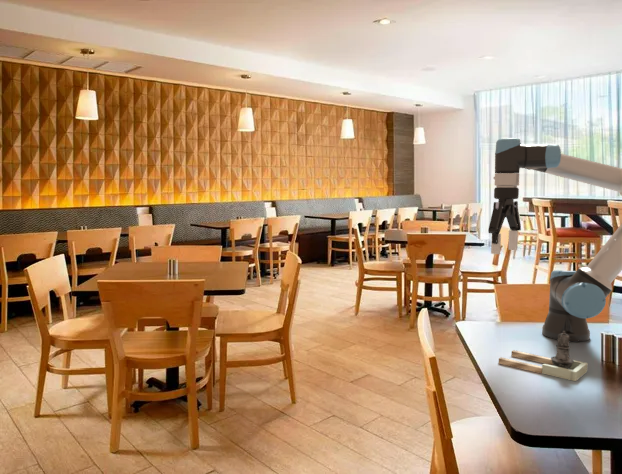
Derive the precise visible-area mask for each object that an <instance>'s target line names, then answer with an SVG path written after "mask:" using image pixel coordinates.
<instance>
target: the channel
mask: <svg viewBox="0 0 622 474" xmlns="http://www.w3.org/2000/svg"><path fill="white" fill-rule="evenodd" d="M511 357H515V358H519V359H524V360H527V361H533V362H537V363H540V364H548V365H552V366H554V365H553V363H552V360H551V358H550V357H547V356H543V355H538V354H534V353H533V354H532V353H528V352H523V351H520V350H519V351H518V350H515V349H513V350H511ZM499 364H500V365H503V366H509V367H512V368H517V369H520V370H525V371H530V372H534V373H537V374H541V375H542V374H543V373H542V365H541V366H540V365H536V364H532V363H528V362H524V361H520V360H515V359H510V358H506V357H502V356H500V357H499V358H498V365H499Z"/></svg>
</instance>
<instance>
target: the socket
mask: <svg viewBox="0 0 622 474" xmlns="http://www.w3.org/2000/svg"><path fill="white" fill-rule="evenodd" d="M573 360H574V362H573V363H572V366H571V368H569V369H566V368H561V367H557V366H554V365H549V364H545V363H541V364H542V365H541V367H542V374H544V375H549V376H552V377H556V378H560V379H564V380H569V381H573V382H576V381H578V380H580V378H581V377H583V376H584V375H585V374H586V373H587V372H588V365H589V363H588V362H585V361H579V360H575V359H573Z"/></svg>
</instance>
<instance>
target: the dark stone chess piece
mask: <svg viewBox="0 0 622 474" xmlns="http://www.w3.org/2000/svg"><path fill="white" fill-rule="evenodd" d="M555 347H556V355H554V356H551V360H552V363H553V365H552V366H557V367H561V368H566V369H569V368H571V366H572V363H573V362H574V360H575V359H573V358H571V357H570V355H569V354H570V349H571V346H570V341H569V335H567V334H566V333H565V331H563V333H561V334H559V335H558V340H557V344H556V345H555Z"/></svg>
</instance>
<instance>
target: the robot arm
mask: <svg viewBox="0 0 622 474" xmlns="http://www.w3.org/2000/svg"><path fill="white" fill-rule="evenodd" d="M521 169H526V170H530V171H531V170H532V171H536V172H540V173H545V174H549V175H551V176H552V175H553V176H557V177H560V178H564V179H567V180H572V181H575V182H580V183H583V184H587V185H591V186H595V187H598V188H603V189H606V190H611V191H615V192H618V193H619V195H620V196H621V197H622V168H620V167H617V166H612V165H610V164H605V163H600V162H597V161H593V160H588V159H584V158H581V157H576V156H572V155H568V154H564V153H562V150H561V147H560V145H559V144H555V143H554V144H551V143H544V144H543V143H541V144H540V143H539V144H537V143H536V144H522V143H521V139H520V138H518V137H517V138H515V137H510V138H509V137H508V138H507V137H505V138H500V139H497V140H496V142H495V152H494V176H493V180H494V186H495V188H493V198H494V199H495V200H498V201H495V202H493V206H492V208H493V209H492V212H491V216H490V221H489V225H488V231H487V232H488V234H491V243H490V245H491V247H490V254H492V255H501V243H502V242H501V239H502V234H501V233H500V232H501V229H502V227H503V224H504V221H505V218H506V220H507V224H508V227H509V230H508V244H507V245H508V249H507V250H508V251H510V250H511V251H517V250H518V237H519V235H518V234H519V233H518V232H519V231H521V230H522V227H521V219H520V214H519V208H518V207H519V203H518V201H517V200H518V199H519V195H520V194H519V193H520V189H519V187H518V186H519V185H520V170H521ZM621 272H622V223H621V224H620V225H619V226H618V227H617V229H616V230H615V232H613V233H612V235H611V236H610V238H609V239H608V240H607V241H606V242H605V243H604V245H603V246H602V247H601V248H600V250H599V251H598V252H597V253H596V254H595V255H594V257H593V258H592V260H591V261H590V262H589V263H588V264H587V265H586V266H584V267H583V266H582V267H578V269H576V270H559V269H557V270H555V269H554V270H552V271H551V273H550V278H549V299H548V300H549V302H548V313H547V315H546V318H545V320H544V324H543V325H542V328H541V334H542V335H543V336H545V337H547V338H549V339H554V340H557V341H558V335H559V334H561V333H563V331H565V333H566V334H567V335H569V342H587V341H589V340H590V337H591V332H590V329H589V325H588V321H587V319H590V318H591V319H592V318H594V317H597V316H598V315H600V313H602V311H603V310H604V309H605V307H606V303H607V301H606V300H607V299H606V298H607V297H608V296H609V294H610V293H611V292H612V291H613V286H612V282H614V280H616V278H617V277H618V276H619V274H620V273H621Z"/></svg>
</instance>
